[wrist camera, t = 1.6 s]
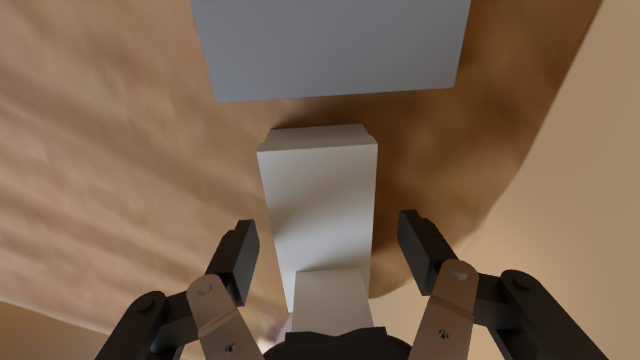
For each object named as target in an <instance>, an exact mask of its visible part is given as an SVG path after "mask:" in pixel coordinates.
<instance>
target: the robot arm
mask: <svg viewBox="0 0 640 360" xmlns="http://www.w3.org/2000/svg"><path fill="white" fill-rule="evenodd" d="M397 237H398V242H399V245H400V247H401V249H402V252H403V254H404V256H405V258H406V261H407V263H408V265H409V267H410V270H411V272H412V274H413V276H414V279H415V281H416V283H417V285H418V288H419V290H420V292H421V295H422V296H430V298H429V300H428V303H427V306H426V309H425V312H424V315H423V317H422V320H421V323H420V326H419V329H418V332H417V334H416V337H415V340H414V343H413V346H410V345H409V344H408V343H406V342H404V341H402V340H400V339H398V338H395V337H393V336H389V335H387V332H386V329H385V327H368V328H359V329H356V330H353V331H350V332H348V333H345V334H342V335H339V336H331V335H326V334H321V333H317V332H312V331H303V332H286V334H285V341H284V342H281V343H279V344H277V345H275V346H273V347H272V348H270V349H269V350H268V351H266V352H265V353H264V354H263V355H262V353H261V351H260V349H259V348H258V346H257V344H256V342H255V340H254V338H253V336H252V334H251V333H250V331H249V329H248V327H247V325H246V323H245V321H244V319H243V318H242V316H241V314H240V312H239V310H238V309H237V308H236V307H241V306H245V302H246V298H247V295H248V291H249V287H250V283H251V280H252V276H253V272H254V269H255V265H256V261H257V257H258V254H259V247H260V245H259V238H258V234H257V230H256V226H255V222H254V220H253V219H250V220H239V221H238V223H237V225H236V228H235V230H229V231H228V232H227V233H226V234H225V235H224V236H223V237H222V239H221V241H220V243H219V246H218V247H217V249H216V252H215V254H214V256H213V258H212V260H211V262H210V264H209V266H208V268H207V270H206V272H205V274H204V276H201V277H199V278H198V279H196V280H195V281H194V282H193V283H192V284H191V285H190V286H189V288H188V289H187V290H186V291H184V292H181V293H178V294H175V295H172V296H169V297H166V296H165V294H164V293H163V292H161V291H152V292H148V293H146V294H144V295H142V296H140V297H139V298H138V299H136V300H135V301H134V302H133V303H132V304H131V305H130V306H129V308H128V309H127V311H126V312H125V314H124V315H123V317H122V318H121V320H120V321H119V323H118V324H117V326H116V327H115V329H114V330H113V332H112V334H111V335H110V337H109V338H108V340H107V341H106V343H105V344H104V346H103V347H102V349H101V350H100V352H99V353H98V355H97V356H96V358H95V360H179V359H180V356H181V354H182V351H183V349H184V346H185V344H188V343H190V342H193V341H195V340H198V339H199V340H200V343H201V346H202V349H203V352H204V355H205V358H206V360H467V356H468V351H469V345H470V339H471V333H472V327H473V323H474V324H478V325H482V326H486V327H487V328H488V330H489V332H490V334H491V336H492V337H493V339H494V341H495V343H496V344H497V346H498V348H499V350H500V352H501V353H502V355H503V357H504V359H505V360H609V359H608V358H607V357H606V356H605V355H604V354H603V353H602V352H601V350H600V349H599V348H598V347H597V346H596V345H595V344H594V343H593V341H592V340H591V339H590V338H589V337H588V336H587V335H586V334H585V333H584V331H583V330H582V329H581V328H580V327H579V326H578V325H577V324H576V323H575V321H574V320H573V319H572V318H571V317H570V316H569V315H568V313H567V312H566V311H565V310H564V309H563V308H562V307H561V306H560V305H559V303H558V302H557V301H556V300H555V299H554V298H553V297H552V296H551V294H550V293H549V292H548V291H547V290H546V289H545V288H544V287H543V286H542V284H541V283H540V282H539V281H538V280H536V279H535V278H534V277H532V276H531V275H529V274H527V273H524V272H522V271H518V270H505V271H503V272H502V274H501V276H500V277H497V276H492V275H487V274H481V273H478V272H477V271H476V270H475V269H474V267H472V266H471V265H470V264H468V263H466V262H464V261H461V260H459V259H458V258H457V256H456V255H455V253H454V252H453V250H452V249H451V247H450V246H449V245H448V243H447V242H446V240H445V239H444V238H443V236H442V234H441V233H440V232H439V230H438V229H437V227H436V226H435V224H434V223H432V222H431V221H430V220H428V219H427V218H421V217H420V216H419V214H418V212H417V211H416V210H415V209H412V210H401V211H400V213H399V221H398V230H397Z"/></svg>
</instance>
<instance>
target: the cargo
mask: <svg viewBox="0 0 640 360" xmlns="http://www.w3.org/2000/svg"><path fill="white" fill-rule="evenodd" d="M368 327H374V325H373V321H372V316H371V312H370V307H369V303H368V298H367V294H366V289H365V285H364V280H363V276H362V271H361V268H350V269H335V270H320V271H305V272H296V274H295V289H294V303H293V319H292V332H303V331H312V332H317V333H321V334H326V335H331V336H339V335H342V334H345V333H348V332H350V331H353V330H356V329H359V328H368Z"/></svg>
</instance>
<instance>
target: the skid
mask: <svg viewBox="0 0 640 360" xmlns="http://www.w3.org/2000/svg"><path fill="white" fill-rule="evenodd" d="M377 152H378V143H377V142H376V140H375V139H374V137H373V136H372V135H370V136H369V134H368V132H367V131H366V129H365V128H364V126H363V125H362V124H347V125H332V126H317V127H302V128H287V129H272V130H270V131H269V133H268V135H267V137H266V139H265V141H264V143H261V144H260V146H259V148H258V150H257V152H256V153H257V158H258V163H259V168H260V173H261V178H262V183H263V187H264V192H265V197H266V202H267V207H268V212H269V217H270V222H271V227H272V232H273V237H274V242H275V247H276V252H277V257H278V262H279V267H280V272H281V277H282V282H283V287H284V292H285V297H286V302H287V307H288V311H289V312H293V303H294V289H295V274H296V272H305V271H320V270H335V269H350V268H361V271H362V276H363V280H364V285H365V289H366V294H367V298H368V294H369V278H370V263H371V247H372V231H373V215H374V199H375V184H376V168H377Z"/></svg>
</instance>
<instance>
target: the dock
mask: <svg viewBox="0 0 640 360" xmlns="http://www.w3.org/2000/svg"><path fill="white" fill-rule="evenodd" d="M190 4H191V8H192V11H193V15H194V19H195V23H196V27H197V30H198V34H199V38H200V42H201V46H202V50H203V53H204V57H205V61H206V65H207V69H208V73H209V76H210V80H211V84H212V88H213V92H214V95H215V99H216V103H229V102H244V101H259V100H273V99H288V98H303V97H318V96H333V95H348V94H363V93H378V92H393V91H408V90H422V89H437V88H452V87H454V84H455V79H456V74H457V69H458V64H459V59H460V54H461V49H462V44H463V39H464V34H465V29H466V24H467V19H468V14H469V9H470V4H471V0H190Z"/></svg>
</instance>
